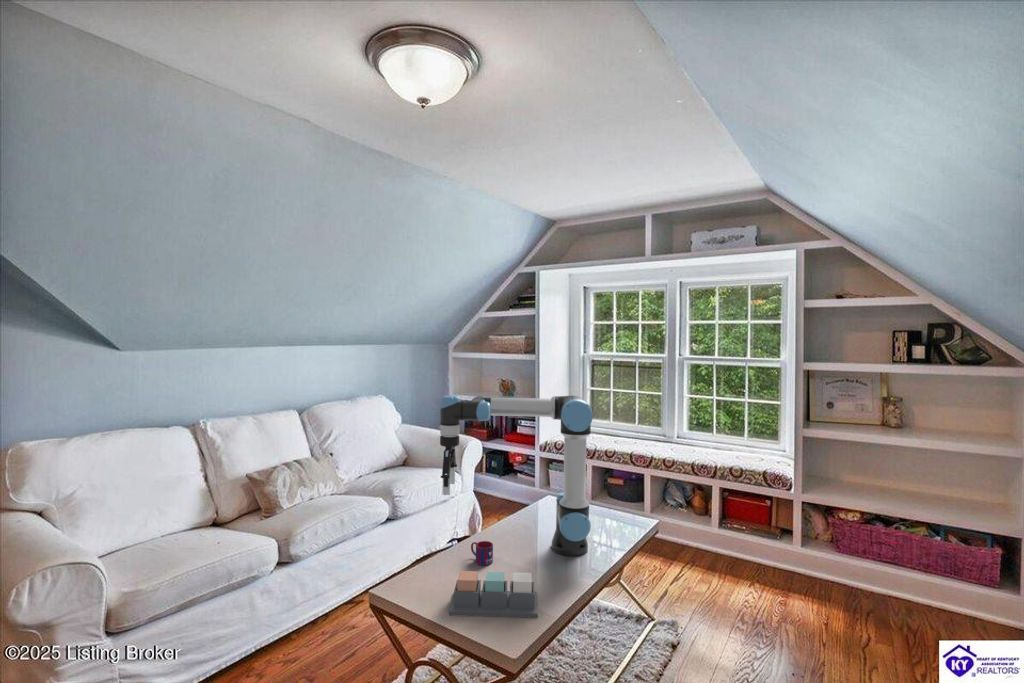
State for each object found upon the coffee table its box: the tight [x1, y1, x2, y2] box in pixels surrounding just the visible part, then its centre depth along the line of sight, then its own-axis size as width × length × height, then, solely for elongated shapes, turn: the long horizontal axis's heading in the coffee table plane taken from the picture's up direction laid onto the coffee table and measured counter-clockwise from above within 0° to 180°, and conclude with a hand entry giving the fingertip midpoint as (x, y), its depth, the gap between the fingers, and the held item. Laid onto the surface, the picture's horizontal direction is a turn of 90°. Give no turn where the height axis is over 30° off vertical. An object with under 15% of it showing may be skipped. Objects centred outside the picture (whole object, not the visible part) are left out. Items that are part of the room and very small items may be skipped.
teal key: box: [484, 571, 505, 592], centre depth 158 cm, size 6×6×5 cm
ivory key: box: [512, 571, 533, 593], centre depth 158 cm, size 6×6×5 cm
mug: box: [470, 540, 494, 567], centre depth 189 cm, size 7×10×7 cm
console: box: [448, 579, 539, 619], centre depth 158 cm, size 28×13×6 cm, turn 89°
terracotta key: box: [456, 570, 479, 592], centre depth 158 cm, size 6×6×5 cm
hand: (448, 489), depth 189 cm, fingers open, 13 cm apart
